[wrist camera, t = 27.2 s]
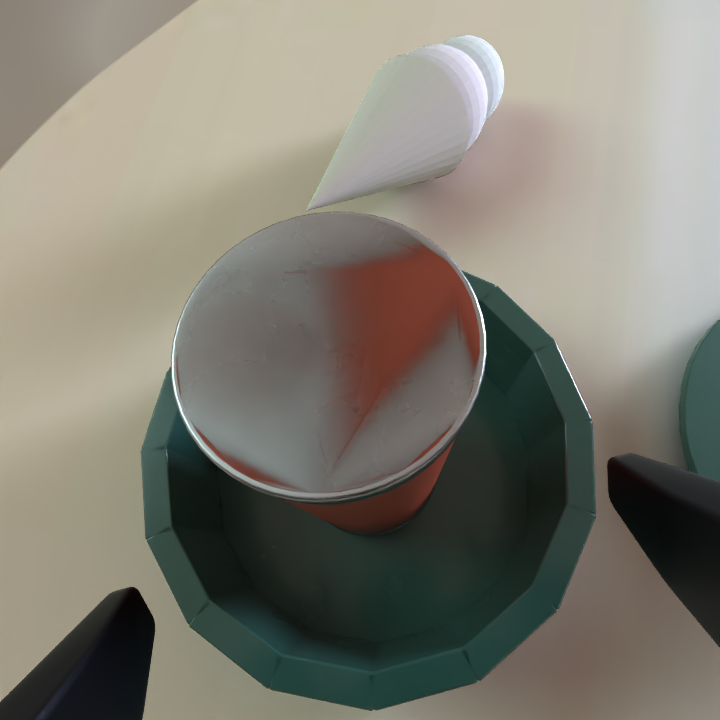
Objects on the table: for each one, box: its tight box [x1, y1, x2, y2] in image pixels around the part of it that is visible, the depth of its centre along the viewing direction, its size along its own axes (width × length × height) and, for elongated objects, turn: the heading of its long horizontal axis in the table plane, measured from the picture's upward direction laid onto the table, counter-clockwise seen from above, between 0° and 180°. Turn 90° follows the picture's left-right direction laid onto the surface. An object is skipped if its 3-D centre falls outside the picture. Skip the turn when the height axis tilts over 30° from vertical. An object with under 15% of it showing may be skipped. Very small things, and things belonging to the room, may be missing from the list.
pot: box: [141, 270, 596, 711], centre depth 18 cm, size 15×15×5 cm
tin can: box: [171, 212, 487, 536], centre depth 14 cm, size 6×6×12 cm
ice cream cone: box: [306, 35, 504, 211], centre depth 23 cm, size 6×6×15 cm
